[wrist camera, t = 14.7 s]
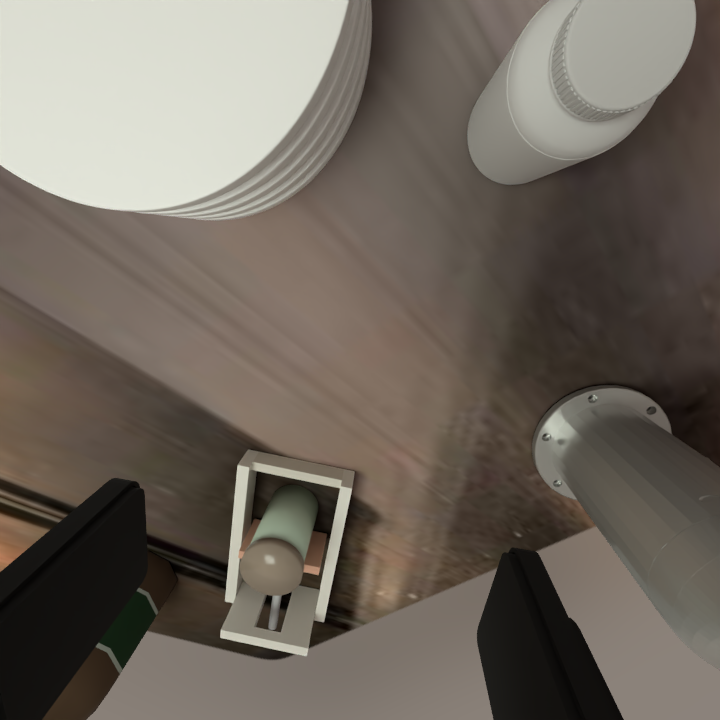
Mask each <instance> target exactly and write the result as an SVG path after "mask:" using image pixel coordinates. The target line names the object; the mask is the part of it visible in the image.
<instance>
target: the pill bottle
mask: <svg viewBox="0 0 720 720" xmlns="http://www.w3.org/2000/svg"><path fill="white" fill-rule="evenodd" d="M695 27H696V8H695V2H694V0H550V1H549V2H547V3H546V4H545V5H544V6H543V7H542V8H541V9H540V10H539V11H538V12H537V13H536V14H535V15H534V17H533V18H532V19H531V20H530V21H529V23H528V24H527V25H526V27H525V28H524V30H523V31H522V33H521V34H520V36H519V37H518V39H517V40H516V42H515V43H514V45H513V46H512V48H511V49H510V51H509V52H508V54H507V56H506V57H505V59H504V60H503V62H502V63H501V65H500V66H499V68H498V69H497V71H496V72H495V74H494V75H493V77H492V78H491V80H490V81H489V83H488V84H487V86H486V87H485V89H484V90H483V92H482V94H481V95H480V97H479V98H478V100H477V102H476V104H475V106H474V108H473V110H472V113H471V116H470V120H469V124H468V131H467V142H468V149H469V153H470V156H471V158H472V160H473V162H474V164H475V166H476V167H477V168H478V170H479V171H480V172H481V173H482V174H483V175H484V176H486V177H487V178H489V179H490V180H492V181H494V182H497V183H500V184H506V185H517V184H524V183H528V182H531V181H533V180H536V179H538V178H541V177H543V176H546V175H548V174H551V173H553V172H556V171H559V170H561V169H564V168H566V167H569V166H571V165H574V164H576V163H579V162H581V161H584V160H586V159H589V158H591V157H594V156H596V155H599V154H601V153H603V152H605V151H607V150H608V149H610V148H612V147H613V146H615V145H616V144H618V143H619V142H621V141H622V140H623V139H624V138H626V137H627V136H628V135H629V134H630V133H631V132H632V131H633V130H634V129H635V128H636V127H637V125H638V124H639V123H640V122H641V121H642V120H643V118H644V117H645V116H646V114H647V113H648V112H649V110H650V109H651V107H652V105H653V104H654V102H655V100H656V98H657V96H658V95H659V94H660V93H661V92H662V91H663V90H665V89H666V88H667V87H668V86H667V85H669V84H670V83H671V82H672V81H673V79H674V78H675V77H676V76H677V73H678V72H679V71H680V70H681V68H682V65H683V64H684V62H685V61H686V58H687V56H688V54H689V51H690V48H691V45H692V42H693V38H694V34H695Z"/></svg>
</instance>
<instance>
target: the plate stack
mask: <svg viewBox="0 0 720 720" xmlns="http://www.w3.org/2000/svg"><path fill="white" fill-rule="evenodd" d="M371 38H372V6H371V0H0V165H1V166H3V167H4V168H6V169H7V170H9V171H10V172H12V173H13V174H15V175H17V176H18V177H20V178H22V179H23V180H25V181H27V182H29V183H31V184H33V185H35V186H37V187H39V188H41V189H43V190H45V191H47V192H49V193H52V194H54V195H57V196H59V197H62V198H65V199H68V200H71V201H74V202H77V203H81V204H85V205H89V206H93V207H98V208H104V209H111V210H119V211H130V212H138V213H146V214H156V215H163V216H174V217H181V218H191V219H199V220H231V219H238V218H244V217H248V216H252V215H255V214H258V213H261V212H264V211H266V210H268V209H271V208H273V207H275V206H277V205H279V204H281V203H282V202H284V201H286V200H287V199H289V198H291V197H292V196H293V195H295V194H296V193H298V192H299V191H300V190H301V189H303V188H304V187H305V186H306V185H307V184H308V183H310V182H311V181H312V180H313V179H314V178H315V177H316V176H317V175H318V174H319V172H320V171H321V170H322V169H323V168H324V167H325V165H326V164H327V163H328V162H329V160H330V159H331V158H332V156H333V155H334V153H335V152H336V150H337V149H338V147H339V146H340V144H341V142H342V141H343V139H344V137H345V135H346V133H347V131H348V129H349V127H350V125H351V123H352V120H353V118H354V116H355V113H356V111H357V108H358V105H359V102H360V99H361V96H362V92H363V89H364V85H365V81H366V76H367V71H368V65H369V59H370V50H371Z"/></svg>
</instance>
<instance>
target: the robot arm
mask: <svg viewBox="0 0 720 720" xmlns="http://www.w3.org/2000/svg"><path fill="white" fill-rule="evenodd" d="M532 456H533V460H534V464H535V466H536V468H537V470H538V472H539V474H540V475H541V477H542V478H543V480H544V481H545V482H546V483H547V484H548V485H549V486H550V487H551V488H552V489H553V490H555V491H556V492H558V493H559V494H561V495H563V496H565V497H568V498H571V499H574V500H578V501H579V503H580V504H581V506H582V507H583V508H584V510H585V511H586V512H587V514H588V515H589V517H590V518H591V519H592V521H593V522H594V524H595V525H596V526H597V528H598V529H599V530H600V532H601V533H602V535H603V536H604V537H605V538H606V540H607V542H608V543H609V544H610V546H611V547H612V548H613V550H614V551H615V553H616V554H617V555H618V557H619V558H620V560H621V561H622V562H623V564H624V565H625V566H626V568H627V569H628V570H629V572H630V573H631V575H632V576H633V577H634V579H635V580H636V581H637V583H638V584H639V586H640V587H641V589H642V590H643V591H644V593H645V594H646V596H647V597H648V598H649V600H650V601H651V602H652V604H653V605H654V607H655V608H656V609H657V610H658V612H659V613H660V615H661V616H662V617H663V619H664V620H665V621H666V623H667V624H668V625H669V627H670V628H671V629H672V630H673V632H674V633H675V634H676V635H677V636H678V637H679V638H680V639H681V641H682V642H683V643H685V645H687V647H688V648H690V649H691V650H692V651H693V652H694V653H696V654H697V655H698V656H699V657H701V658H702V659H703V660H704V661H706V662H707V663H709V664H711V665H712V666H714V667H716V668H717V669H719V670H720V467H719V466H717V465H716V464H714V463H713V462H711V460H710V459H709V458H707V457H704V456H703V455H701V454H700V453H698V452H697V451H695V450H694V449H692V448H691V447H689V446H688V445H687V444H685V443H684V442H682V441H681V440H679V439H678V438H676V437H675V436H673V435H672V431H671V425H670V422H669V420H668V417H667V415H666V414H665V412H664V411H663V410H662V408H661V407H660V406H659V405H658V404H657V403H656V402H654V401H653V400H652V399H651V398H649V397H647V396H646V395H644V394H642V393H641V392H638V391H636V390H633V389H631V388H628V387H623V386H618V385H600V386H593V387H588V388H585V389H582V390H579V391H576V392H574V393H572V394H570V395H568V396H566V397H564V398H563V399H561V400H560V401H559V402H557V403H556V404H554V405H553V406H552V407H551V408H550V409H549V410H548V411H547V412H546V414H545V415H544V416H543V418H542V419H541V421H540V422H539V424H538V426H537V428H536V431H535V433H534V437H533V442H532ZM147 570H148V556H147V535H146V514H145V494H144V490H143V489H141V488H140V486H139V484H138V482H135V481H130V480H124V479H119V478H113V479H111V480H109V481H108V482H107V483H105V484H104V485H103V486H102V487H101V488H100V489H98V490H97V491H96V492H95V493H94V494H92V495H91V496H90V497H89V498H88V499H87V500H85V501H84V502H83V503H82V504H81V505H79V506H78V507H77V508H76V509H75V510H73V511H72V512H71V513H70V514H69V515H68V516H66V517H65V518H64V519H63V520H62V521H60V522H59V523H58V524H57V525H56V526H54V527H53V528H52V529H51V530H50V531H49V532H47V533H46V534H45V535H44V536H43V537H41V538H40V539H39V540H38V541H37V542H36V543H34V544H33V545H32V546H31V547H30V548H28V549H27V550H26V551H25V552H24V553H22V554H21V555H20V556H19V557H18V558H17V559H15V560H14V561H13V562H12V563H11V564H9V565H8V566H7V567H6V568H5V569H4V570H2V571H1V572H0V720H42V719H43V718H44V716H45V715H46V714H47V712H48V711H49V710H50V708H51V707H52V706H53V704H54V703H55V701H56V700H57V699H58V697H59V696H60V695H61V693H62V692H63V691H64V689H65V688H66V686H67V685H68V684H69V682H70V681H71V680H72V678H73V677H74V675H75V674H76V673H77V671H78V670H79V669H80V667H81V666H82V665H83V663H84V662H85V660H86V659H87V658H88V656H89V655H90V654H91V652H92V651H93V650H94V648H95V647H96V645H97V644H98V643H99V641H100V640H101V639H102V637H103V636H104V635H105V633H106V632H107V630H108V629H109V628H110V626H111V625H112V624H113V622H114V621H115V619H116V618H117V617H118V615H119V614H120V613H121V611H122V610H123V609H124V607H125V606H126V604H127V603H128V602H129V600H130V599H131V598H132V596H133V595H134V594H135V592H136V591H137V589H138V588H139V587H140V585H141V584H142V582H143V581H144V579H145V577H146V574H147ZM477 643H478V648H479V653H480V657H481V663H482V667H483V672H484V677H485V681H486V686H487V690H488V695H489V700H490V705H491V710H492V714H493V719H494V720H624V719H623V718H622V715H621V713H620V711H619V709H618V707H617V705H616V703H615V701H614V699H613V697H612V695H611V693H610V690H609V688H608V686H607V684H606V682H605V680H604V678H603V676H602V674H601V672H600V670H599V668H598V666H597V664H596V662H595V660H594V658H593V655H592V653H591V651H590V649H589V647H588V645H587V643H586V641H585V639H584V637H583V635H582V633H581V631H580V629H579V627H578V626H577V624H576V623H575V622H574V621H573V620H572V619H571V618H569V617H568V615H567V613H566V611H565V609H564V607H563V605H562V602H561V601H560V598H559V596H558V594H557V592H556V590H555V588H554V586H553V583H552V581H551V579H550V577H549V575H548V573H547V571H546V569H545V566H544V564H543V562H542V560H541V558H540V556H539V555H538V553H537V552H535V551H530V550H524V549H518V548H511V549H510V551H509V553H503V554H502V556H501V559H500V562H499V565H498V568H497V572H496V575H495V578H494V581H493V584H492V587H491V590H490V593H489V596H488V599H487V602H486V605H485V608H484V611H483V614H482V617H481V620H480V623H479V626H478V630H477Z"/></svg>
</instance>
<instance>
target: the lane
mask: <svg viewBox="0 0 720 720" xmlns="http://www.w3.org/2000/svg"><path fill="white" fill-rule="evenodd" d="M257 471H259V472H264V473H269V474H274V475H279V476H284V477H288V478H293V479H298V480H303V481H308V482H313V483H317V484H322V485H327V486H332V487H337V488H340V492H339V497H338V502H337V507H336V512H335V517H334V522H333V527H332V532H331V537H330V542H329V547H328V552H327V557H326V562H325V567H324V572H323V577H322V582H321V587H320V592H319V590H318V589H314V588H309V587H304V586H298V587H297V588H296V589H295V590H294V591H292V595H291V598H290V602H289V605H288V609H287V613H286V616H285V620H284V623H283V627H282V630H281V633H280V632H275V631H270V630H266V629H261V628H256V624H257V622H258V619H259V616H260V613H261V610H262V607H263V604H264V602H265V599H266V596H267V595H266V594H263V593H260V592H258V591H256V590H254V589H253V588H251V587H250V586H249V585H248V584H247V583H246V582H245V581H244V579H243V578H242V575H241V573H240V562H241V559H240V558H238V556H239V550H240V548H241V546H242V544H243V541H244V539H245V537H246V535H247V533H248V531H249V529H250V527H251V518H252V510H253V501H254V492H255V483H256V474H257ZM354 474H355V471H351V470H346V469H341V468H336V467H332V466H327V465H322V464H317V463H312V462H307V461H302V460H298V459H293V458H288V457H283V456H278V455H273V454H268V453H263V452H259V451H254V450H249V449H248V451H247V452H246V454H245V455H244V457H243V458H242V459H241V461H240V462H239V464H238V467H237V478H236V489H235V499H234V510H233V521H232V532H231V542H230V553H229V564H228V574H227V585H226V596H225V601H226V602H231V603H233V604H232V607H231V609H230V611H229V614H228V616H227V618H226V620H225V622H224V624H223V626H222V628H221V634H220V638H224V639H228V640H233V641H238V642H242V643H247V644H252V645H256V646H261V647H266V648H270V649H275V650H280V651H284V652H289V653H294V654H298V655H303V656H307V652H308V647H309V642H310V635H311V630H312V625H313V620H315V621H320V622H324V619H325V615H326V610H327V605H328V601H329V596H330V591H331V586H332V582H333V577H334V572H335V568H336V563H337V558H338V553H339V549H340V544H341V539H342V535H343V530H344V525H345V520H346V516H347V511H348V506H349V502H350V497H351V492H352V487H353V480H354ZM318 595H319V597H318ZM317 600H318V602H317ZM316 605H317V607H316ZM315 610H316V612H315ZM314 615H315V617H314Z"/></svg>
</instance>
